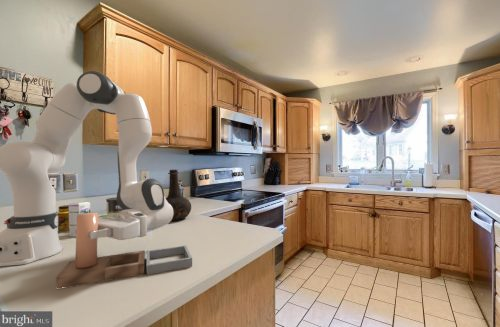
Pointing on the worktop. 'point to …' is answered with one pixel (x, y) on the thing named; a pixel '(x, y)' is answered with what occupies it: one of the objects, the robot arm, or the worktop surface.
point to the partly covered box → (102, 269)
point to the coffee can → (113, 207)
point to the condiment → (63, 219)
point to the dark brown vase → (177, 198)
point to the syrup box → (73, 211)
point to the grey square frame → (168, 264)
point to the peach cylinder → (86, 240)
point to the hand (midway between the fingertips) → (82, 233)
